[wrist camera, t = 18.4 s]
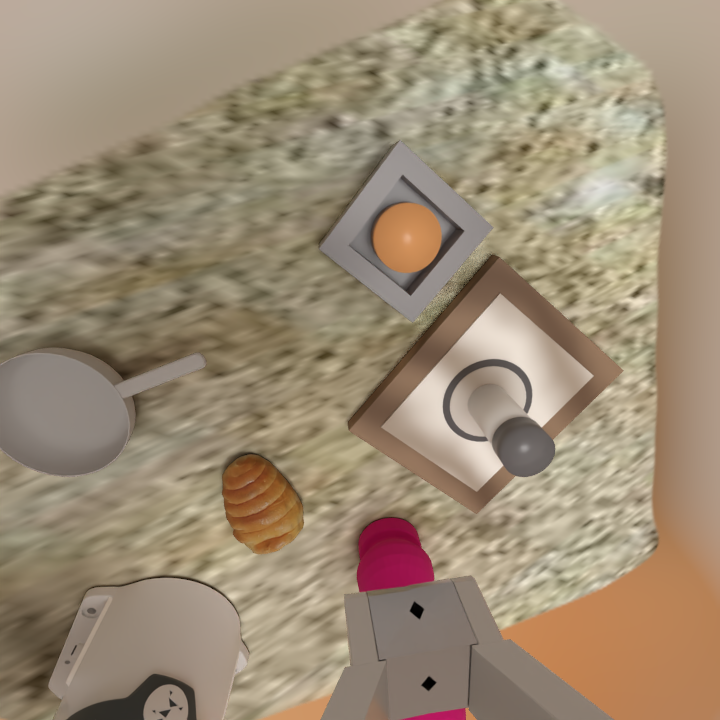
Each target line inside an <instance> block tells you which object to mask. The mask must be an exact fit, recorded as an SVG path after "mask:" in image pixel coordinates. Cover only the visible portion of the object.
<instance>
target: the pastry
mask: <svg viewBox="0 0 720 720" xmlns="http://www.w3.org/2000/svg"><path fill="white" fill-rule="evenodd" d="M222 479H223V491H222V495H223V497H224V507H225V510H226V518H227V520H228V521H229V523H230V525H231V527H232V528H233V529H234V531H233V535H234V537H235V538H236V539H237V540H238V541H239V542H241V543H245V545H246V546H247V547H248V548H250V549H251V550H252V551H253V553H256V554H267V553H271V552H275V551H278V550H280V549H281V548H282V547H284V546H285V545H287V544H289V543H290V542H292V541H293V540H294V539H295V538H296V536H297V535H298V533H299V532H300V531H301V530H302V528H303V525H304V520H303V506H302V503H301V501H300V499H299V497H298V495H297V493H296V492H295V491H294V490H293V488H292V487H291V485H290V484H289V483H288V482H287V480H286V479H285V478H284V477H283V476H282V475H281V474H280V473H279V471H278V470H277V469H276V468H275V467H274V466H273V465H272V464H271V463H270V462H269V461H267V460H265V459H264V458H262V457H260V456H259V455H253V454H249V455H246V456H242V457H239V458H237V459H236V460H235V461H234V462H233V463H231V464H230V465H229V466H228V467H227V469H226V470H225V472H224V474H223V475H222Z"/></svg>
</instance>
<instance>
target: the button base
mask: <svg viewBox="0 0 720 720" xmlns="http://www.w3.org/2000/svg"><path fill="white" fill-rule="evenodd" d="M399 202H408V203H416V204H420V205H422V206H424V207H426V208H428V209H429V210H430V211H431V212H432V213H433V214H434V215H435V216H436V218H437V220H438V222H439V224H440V227H441V233H442V240H441V245H440V249H439V251H438V253H437V255H436V257H435V258H434V260H433V261H432V262H431V263H430V264H429V265H428V266H426V267H425V268H423V269H421V270H419V271H416V272H412V273H401V272H397V271H394V270H392V269H390V268H389V267H387V266H386V265H385V264H384V263H383V262H382V261H381V260H380V259H379V257H378V256H377V255H376V253H375V252H374V249H373V247H372V243H371V230H372V226H373V223H374V221H375V219H376V217H377V216H378V215H379V213H380V212H381V211H382V210H383V209H385V208H386V207H388V206H390V205H392V204H395V203H399ZM492 229H493V227H492V226H491V225H490V224H489V223H488V222H487V221H486V220H485V219H484V218H483V217H482V216H481V215H480V214H479V213H477V212H476V211H475V210H474V209H473V208H472V207H471V206H470V205H469V204H468V203H467V202H466V201H465V200H464V199H463V198H461V197H460V196H459V195H458V194H457V193H456V192H455V191H454V190H453V189H452V188H451V187H450V186H449V185H448V184H447V183H445V182H444V181H443V180H442V179H441V178H440V177H439V176H438V175H437V174H436V173H435V172H434V171H433V170H432V169H431V168H429V167H428V166H427V165H426V164H425V163H424V162H423V161H422V160H421V159H420V158H419V157H418V156H417V155H416V154H415V153H413V152H412V151H411V150H410V149H409V148H408V147H407V146H406V145H405V144H404V143H403V142H402V141H401V140H400V141H398V142H396V143H395V144H393V145H392V147H391V148H390V149H389V151H388V152H387V153H386V155H385V156H384V157H383V159H382V160H381V161H380V163H379V164H378V166H377V167H376V168H375V170H374V171H373V172H372V174H371V175H370V176H369V178H368V179H367V180H366V182H365V183H364V184H363V186H362V187H361V188H360V190H359V191H358V192H357V194H356V195H355V196H354V198H353V199H352V200H351V202H350V203H349V205H348V206H347V207H346V209H345V210H344V211H343V213H342V214H341V215H340V217H339V218H338V219H337V221H336V222H335V223H334V225H333V226H332V227H331V229H330V230H329V231H328V233H327V234H326V235H325V237H324V238H323V239H322V241H321V242H320V244H319V250H321V251H322V252H323V253H324V254H326V255H327V256H328V257H329V258H331V259H332V260H333V261H335V262H336V263H337V264H338V265H340V266H341V267H342V268H344V269H345V270H346V271H347V272H349V273H350V274H351V275H352V276H354V277H355V278H356V279H358V280H359V281H360V282H361V283H363V284H364V285H365V286H366V287H368V288H369V289H370V290H372V291H373V292H374V293H375V294H377V295H378V296H379V297H380V298H382V299H383V300H384V301H386V302H387V303H388V304H389V305H391V306H392V307H393V308H394V309H396V310H397V311H398V312H400V313H401V314H402V315H403V316H405V317H406V318H407V319H408V320H410V321H411V322H412V323H413V322H414V321H415V319H416V318H417V317H418V316H419V315H420V314H421V312H422V311H423V310H424V309H425V308H426V307H427V305H428V304H429V303H430V302H431V301H432V299H433V298H434V297H435V296H436V295H437V294H438V292H439V291H440V290H441V289H442V288H443V286H444V285H445V284H446V283H447V282H448V281H449V279H450V278H451V277H452V276H453V275H454V273H455V272H456V271H457V270H458V269H459V268H460V266H461V265H462V264H463V263H464V262H465V260H466V259H467V258H468V257H469V256H470V255H471V253H472V252H473V251H474V250H475V249H476V248H477V246H478V245H479V244H480V243H481V242H482V240H483V239H484V238H485V237H486V236H487V235H488V233H489V232H490V231H491V230H492Z"/></svg>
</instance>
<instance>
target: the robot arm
mask: <svg viewBox="0 0 720 720" xmlns="http://www.w3.org/2000/svg"><path fill="white" fill-rule="evenodd" d="M344 602H345V613H346V624H347V635H348V647H349V657H350V666H349V667H345V668H344V670H343V673H342V675H341V677H340V679H339V681H338V683H337V686H336V688H335V690H334V692H333V694H332V696H331V698H330V701H329V703H328V705H327V707H326V709H325V711H324V714H323V716H322V718H321V720H401V719H406V718H410V717H415V716H419V715H424V714H428V713H435V712H442V711H448V710H455V709H462V708H468V707H469V711H470V712H471V713H472V714H473V715H474V716H475V718H476V719H477V720H614V719H613V718H611V717H610V716H609V715H607V714H606V713H605V712H604V711H602V710H601V709H600V708H598V707H597V706H596V705H594V704H593V703H592V702H591V701H589V700H588V699H587V698H585V697H584V696H583V695H581V694H580V693H579V692H578V691H576V690H575V689H574V688H572V687H571V686H570V685H569V684H567V683H566V682H565V681H563V680H562V679H561V678H560V677H558V676H557V675H556V674H554V673H553V672H552V671H551V670H549V669H548V668H547V667H545V666H544V665H543V664H542V663H540V662H539V661H538V660H536V659H535V658H534V657H533V656H531V655H530V654H529V653H527V652H526V651H525V650H524V649H522V648H521V647H520V646H518V645H517V644H516V643H514V642H513V641H512V640H510V639H509V640H503V638H502V635H501V633H500V631H499V629H498V627H497V625H496V623H495V620H494V618H493V616H492V614H491V612H490V610H489V608H488V606H487V604H486V601H485V599H484V597H483V595H482V593H481V591H480V589H479V587H478V584H477V582H476V580H475V578H473V577H472V576H464V577H458V578H451V579H443V580H437V581H431V582H425V583H419V584H413V585H408V586H405V587H397V588H389V589H380V590H372V591H367V592H359V593H351V594H344ZM240 631H241V630H240V620H239V617H238V614H237V612H236V610H235V609H234V607H233V606H232V605H231V603H230V602H229V601H228V600H227V599H226V598H225V597H224V596H222V595H221V594H220V593H218V592H217V591H215V590H213V589H212V588H210V587H207V586H205V585H203V584H200V583H197V582H194V581H190V580H185V579H178V578H155V579H148V580H143V581H139V582H136V583H133V584H130V585H126V586H122V587H96V588H92V589H89V590H88V591H87V592H86V594H85V596H84V598H83V601H82V603H81V605H80V608H79V610H78V613H77V615H76V618H75V620H74V622H73V625H72V627H71V630H70V632H69V635H68V637H67V639H66V642H65V644H64V647H63V649H62V652H61V654H60V656H59V659H58V661H57V664H56V666H55V669H54V671H53V673H52V676H51V678H50V681H49V684H48V687H49V689H50V690H51V691H52V692H53V693H54V694H55V695H56V696H57V697H58V698H60V699H61V700H62V701H61V703H60V705H59V707H58V709H57V711H56V713H55V716H54V718H53V720H224V717H225V713H226V708H227V704H228V700H229V696H230V692H231V688H232V684H233V680H234V676H235V675H236V674H237V673H238V672H240V671H241V670H243V669H244V668H245V667H246V666H247V663H248V659H249V652H248V650H247V648H246V646H245V645H244V643H243V642H242V640H241V635H240Z"/></svg>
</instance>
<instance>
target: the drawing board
mask: <svg viewBox="0 0 720 720" xmlns="http://www.w3.org/2000/svg"><path fill="white" fill-rule="evenodd" d="M622 372H623V370H622V369H621V368H620V367H619V366H618V365H617V364H616V363H615V362H614V361H612V360H611V359H610V358H609V357H608V356H607V355H606V354H605V353H604V352H603V351H601V350H600V349H599V348H598V347H597V346H596V345H595V344H594V343H593V342H592V341H591V340H589V339H588V338H587V337H586V336H585V335H584V334H583V333H582V332H581V331H580V330H579V329H577V328H576V327H575V326H574V325H573V324H572V323H571V322H570V321H569V320H568V319H566V318H565V317H564V316H563V315H562V314H561V313H560V312H559V311H558V310H557V309H556V308H554V307H553V306H552V305H551V304H550V303H549V302H548V301H547V300H546V299H545V298H544V297H542V296H541V295H540V294H539V293H538V292H537V291H536V290H535V289H534V288H533V287H531V286H530V285H529V284H528V283H527V282H526V281H525V280H524V279H523V278H522V277H521V276H519V275H518V274H517V273H516V272H515V271H514V270H513V269H512V268H511V267H510V266H509V265H507V264H506V263H505V262H504V261H503V260H502V259H501V258H500V257H497V256H495V255H492V256H491V257H490V258H489V259H488V260H487V262H486V263H485V264H484V265H483V266H482V267H481V269H480V270H479V271H478V272H477V273H476V274H475V275H474V277H473V278H472V279H471V280H470V281H469V282H468V284H467V285H466V286H465V287H464V288H463V289H462V291H461V292H460V293H459V294H458V295H457V296H456V298H455V299H454V300H453V301H452V302H451V303H450V304H449V306H448V307H447V308H446V309H445V310H444V311H443V313H442V314H441V315H440V316H439V317H438V318H437V320H436V321H435V322H434V323H433V324H432V325H431V327H430V328H429V329H428V330H427V331H426V332H425V333H424V335H423V336H422V337H421V338H420V339H419V340H418V342H417V343H416V344H415V345H414V346H413V347H412V349H411V350H410V351H409V352H408V353H407V354H406V356H405V357H404V358H403V359H402V360H401V361H400V362H399V364H398V365H397V366H396V367H395V368H394V369H393V371H392V372H391V373H390V374H389V375H388V376H387V378H386V379H385V380H384V381H383V382H382V383H381V385H380V386H379V387H378V388H377V389H376V390H375V391H374V393H373V394H372V395H371V396H370V397H369V398H368V400H367V401H366V402H365V403H364V404H363V405H362V407H361V408H360V409H359V410H358V411H357V412H356V414H355V415H354V416H353V417H352V418H351V419H350V420H349V422H348V427H349V431H350V432H352V433H353V434H355V435H356V436H358V437H359V438H361V439H362V440H364V441H365V442H367V443H368V444H370V445H372V446H373V447H375V448H376V449H378V450H379V451H381V452H382V453H384V454H385V455H387V456H388V457H390V458H391V459H393V460H395V461H396V462H398V463H399V464H401V465H402V466H404V467H405V468H407V469H408V470H410V471H411V472H413V473H414V474H416V475H418V476H419V477H421V478H422V479H424V480H425V481H427V482H428V483H430V484H431V485H433V486H434V487H436V488H437V489H439V490H441V491H442V492H444V493H445V494H447V495H448V496H450V497H451V498H453V499H454V500H456V501H457V502H459V503H460V504H462V505H464V506H465V507H467V508H468V509H470V510H471V511H473V512H474V513H476V514H477V513H478V512H479V511H480V510H481V509H482V508H483V507H484V506H485V505H486V504H487V503H488V502H489V501H490V500H491V499H492V498H493V497H494V496H495V495H496V494H498V493H499V492H500V491H501V490H502V489H503V488H504V487H505V486H506V485H507V484H508V483H509V482H510V481H511V480H512V479H513V478H514V477H515V475H513V474H511V473H509V472H508V471H507V470H506V468H505V467H504V465H503V464H502V462H501V461H500V459H499V458H498V457H497V455H496V454H495V452H494V450H493V447H492V445H491V444H490V442H489V441H488V439H487V438H486V436H485V435H484V433H483V432H482V430H481V429H480V428H479V426H478V425H477V423H476V422H475V420H474V419H473V417H472V416H471V414H470V413H469V410H468V400H469V398H470V396H471V394H472V393H473V392H474V391H475V390H476V389H477V388H479V387H481V386H483V385H487V384H495V385H498V386H500V387H502V388H503V389H504V390H505V391H506V392H507V393H508V394H509V395H510V396H511V397H512V398H513V400H514V401H515V402H516V403H517V404H518V405H519V406H520V407H521V408H522V409H523V410H524V411H525V412H526V413H527V415H528V416H529V417H530V418H531V419H533V420H534V421H536V422H537V423H538V424H539V425H540V426H541V428H542V429H543V430H544V431H545V432H546V433H547V434H548V435H549V436H550V437H551V438H552V440H553V439H554V438H555V437H556V436H557V435H558V434H559V433H560V432H561V431H562V430H563V429H564V428H565V427H566V426H567V425H568V424H569V423H570V422H571V421H572V420H573V419H574V418H575V417H576V416H578V415H579V414H580V413H581V412H582V411H583V410H584V409H585V408H586V407H587V406H588V405H589V404H590V403H591V402H592V401H593V400H594V399H595V398H596V397H597V396H598V395H599V394H600V393H601V392H602V391H603V390H604V389H605V388H606V387H607V386H608V385H609V384H610V383H611V382H612V381H613V380H614V379H615V378H616V377H618V376H619V375H620V374H621V373H622Z"/></svg>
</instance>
